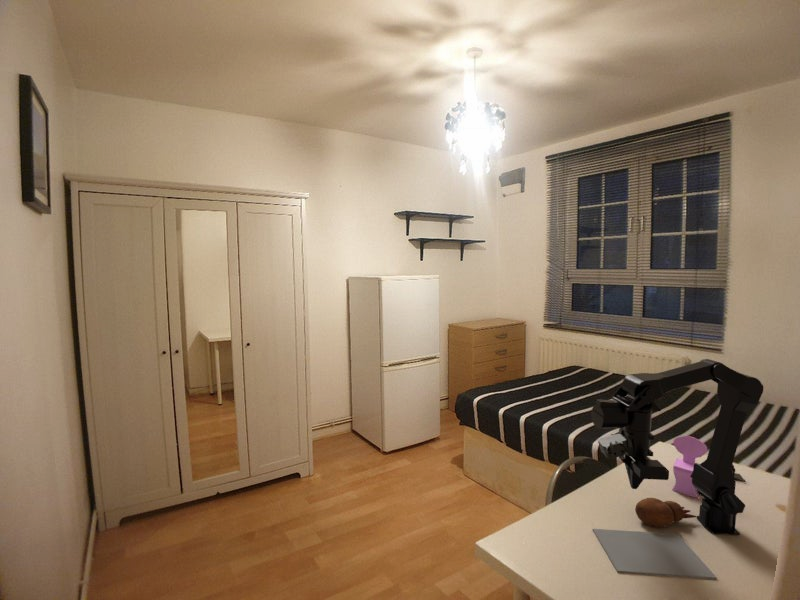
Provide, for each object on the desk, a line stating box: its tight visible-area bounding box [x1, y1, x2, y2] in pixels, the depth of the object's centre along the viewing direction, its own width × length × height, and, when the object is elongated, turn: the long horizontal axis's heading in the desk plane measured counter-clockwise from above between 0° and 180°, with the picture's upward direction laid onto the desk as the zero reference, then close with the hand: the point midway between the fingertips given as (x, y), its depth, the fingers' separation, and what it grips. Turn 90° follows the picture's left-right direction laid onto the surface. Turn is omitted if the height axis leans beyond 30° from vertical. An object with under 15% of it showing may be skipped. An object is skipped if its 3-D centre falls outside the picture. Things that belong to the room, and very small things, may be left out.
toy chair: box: [671, 435, 709, 499], centre depth 120 cm, size 8×9×15 cm
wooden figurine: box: [635, 497, 698, 528], centre depth 105 cm, size 7×6×15 cm
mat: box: [592, 528, 718, 580], centre depth 93 cm, size 20×14×1 cm
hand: (633, 488), depth 101 cm, fingers closed
